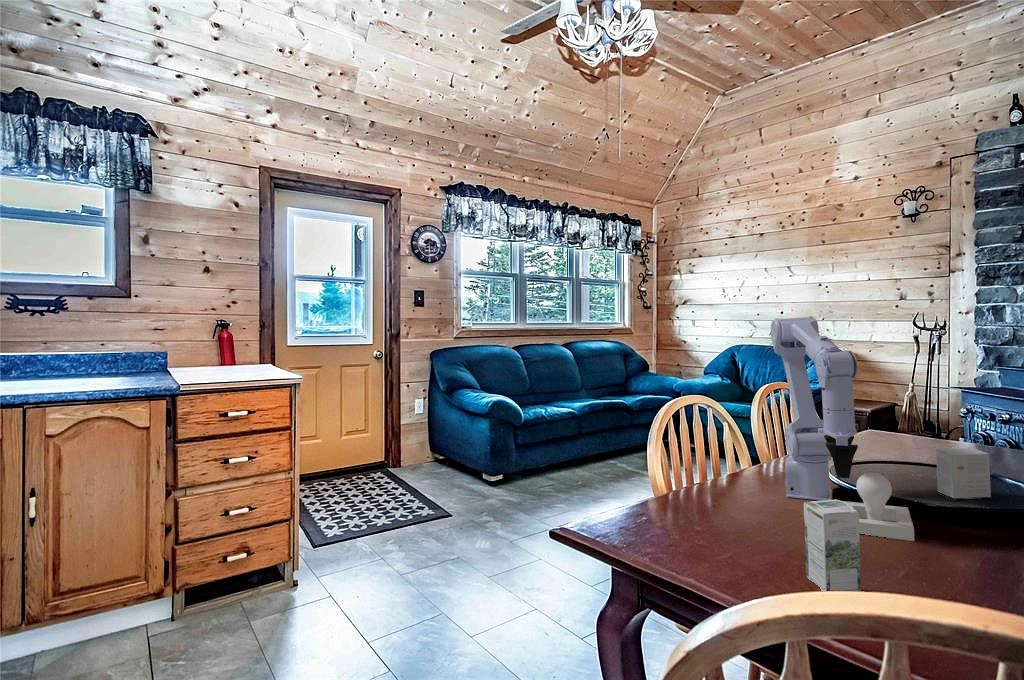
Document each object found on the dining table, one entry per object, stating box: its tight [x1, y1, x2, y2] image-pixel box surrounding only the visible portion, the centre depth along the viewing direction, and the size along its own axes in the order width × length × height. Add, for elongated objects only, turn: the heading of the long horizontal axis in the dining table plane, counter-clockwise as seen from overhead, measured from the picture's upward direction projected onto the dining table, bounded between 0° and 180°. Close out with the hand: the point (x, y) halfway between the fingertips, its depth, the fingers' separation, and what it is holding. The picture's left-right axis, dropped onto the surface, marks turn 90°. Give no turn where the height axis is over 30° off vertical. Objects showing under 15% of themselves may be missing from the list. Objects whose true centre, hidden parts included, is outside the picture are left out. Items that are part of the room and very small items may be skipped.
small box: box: [935, 447, 992, 498], centre depth 126 cm, size 8×6×10 cm
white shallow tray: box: [841, 500, 915, 542], centre depth 113 cm, size 12×12×2 cm
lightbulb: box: [855, 472, 893, 521], centre depth 113 cm, size 6×6×11 cm
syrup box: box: [803, 499, 862, 592], centre depth 89 cm, size 6×6×14 cm
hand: (842, 472), depth 116 cm, fingers open, 7 cm apart
